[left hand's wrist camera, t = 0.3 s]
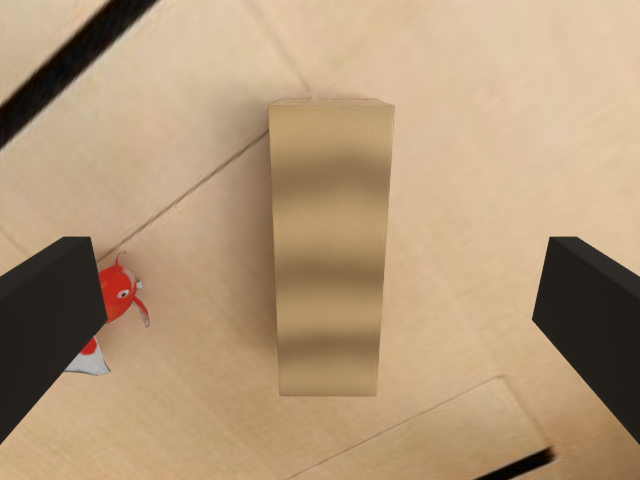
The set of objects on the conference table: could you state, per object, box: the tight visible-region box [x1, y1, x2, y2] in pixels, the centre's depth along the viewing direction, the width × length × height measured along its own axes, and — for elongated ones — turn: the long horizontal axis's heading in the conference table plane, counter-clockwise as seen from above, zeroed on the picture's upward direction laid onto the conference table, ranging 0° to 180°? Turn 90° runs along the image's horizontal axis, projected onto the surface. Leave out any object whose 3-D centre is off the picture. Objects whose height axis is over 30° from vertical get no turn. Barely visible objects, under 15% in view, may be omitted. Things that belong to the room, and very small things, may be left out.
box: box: [268, 99, 395, 396], centre depth 37 cm, size 25×9×9 cm, turn 0°
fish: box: [63, 251, 149, 376], centre depth 40 cm, size 11×16×10 cm
